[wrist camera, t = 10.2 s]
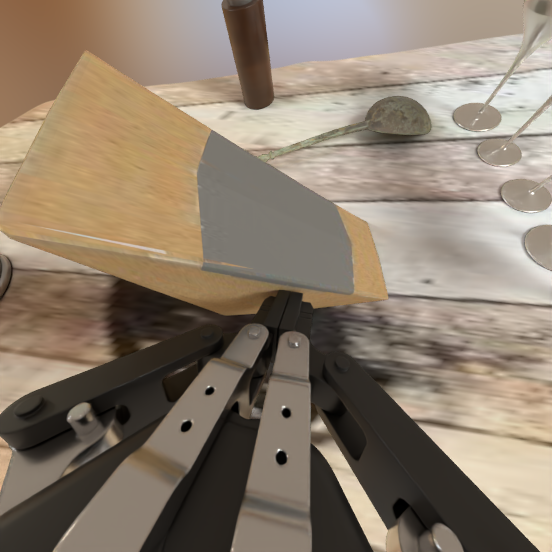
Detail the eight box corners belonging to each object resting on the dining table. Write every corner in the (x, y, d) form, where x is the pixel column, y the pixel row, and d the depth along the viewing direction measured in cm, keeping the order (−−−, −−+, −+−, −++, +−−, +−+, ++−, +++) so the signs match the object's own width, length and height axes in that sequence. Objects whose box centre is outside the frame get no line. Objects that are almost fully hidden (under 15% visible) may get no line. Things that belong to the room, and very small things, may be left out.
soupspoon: (437, 143, 23) (410, 112, 26) (459, 110, 20) (425, 78, 22) (254, 188, 23) (246, 153, 26) (248, 162, 20) (239, 125, 23)
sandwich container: (391, 302, 17) (786, 106, 3) (222, 318, 19) (-25, 235, 5) (367, 220, 20) (516, -71, 6) (223, 239, 22) (77, 43, 8)
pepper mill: (241, 109, 29) (206, -26, 18) (248, 90, 30) (219, -46, 20) (270, 109, 28) (251, -33, 17) (276, 89, 29) (261, -54, 19)
